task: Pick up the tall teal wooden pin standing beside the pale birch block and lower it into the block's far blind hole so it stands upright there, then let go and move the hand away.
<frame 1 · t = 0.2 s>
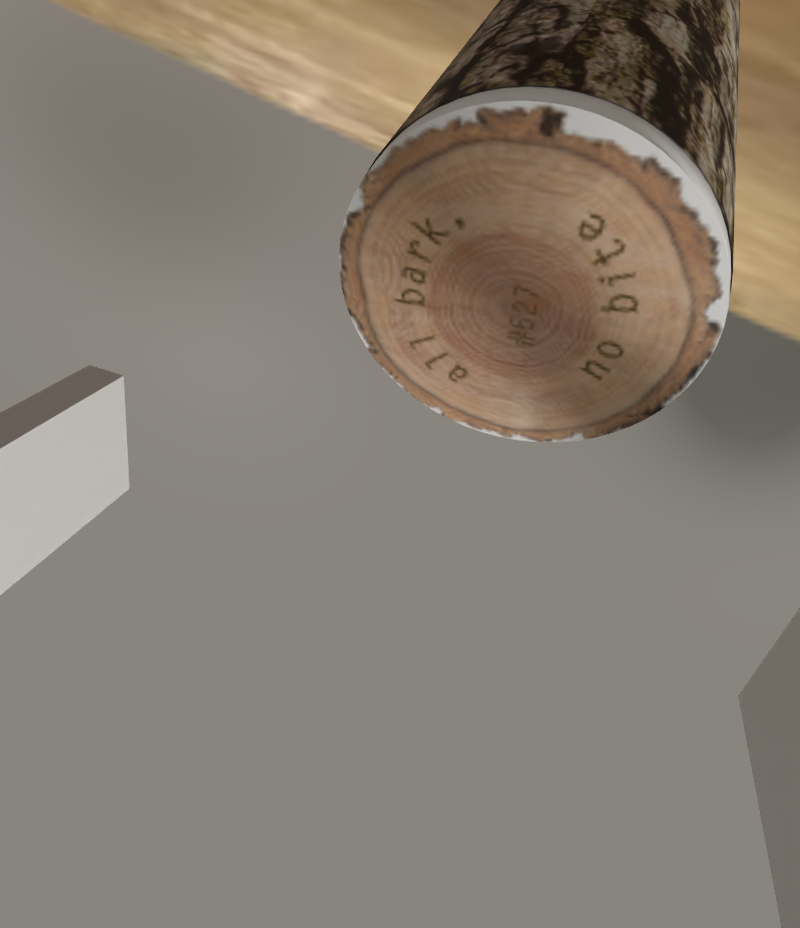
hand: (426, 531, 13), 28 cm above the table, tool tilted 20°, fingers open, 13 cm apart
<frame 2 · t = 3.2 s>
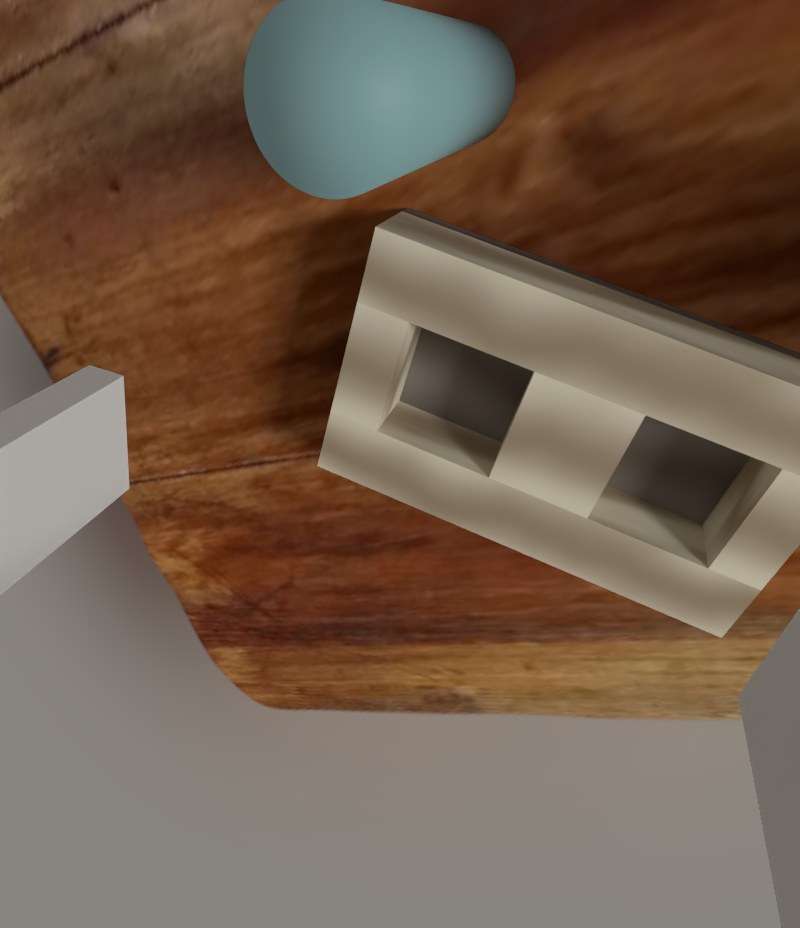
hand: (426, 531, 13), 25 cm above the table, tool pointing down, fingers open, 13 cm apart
hole block: (571, 406, 37), on the table
pin: (461, 86, 31), on the table
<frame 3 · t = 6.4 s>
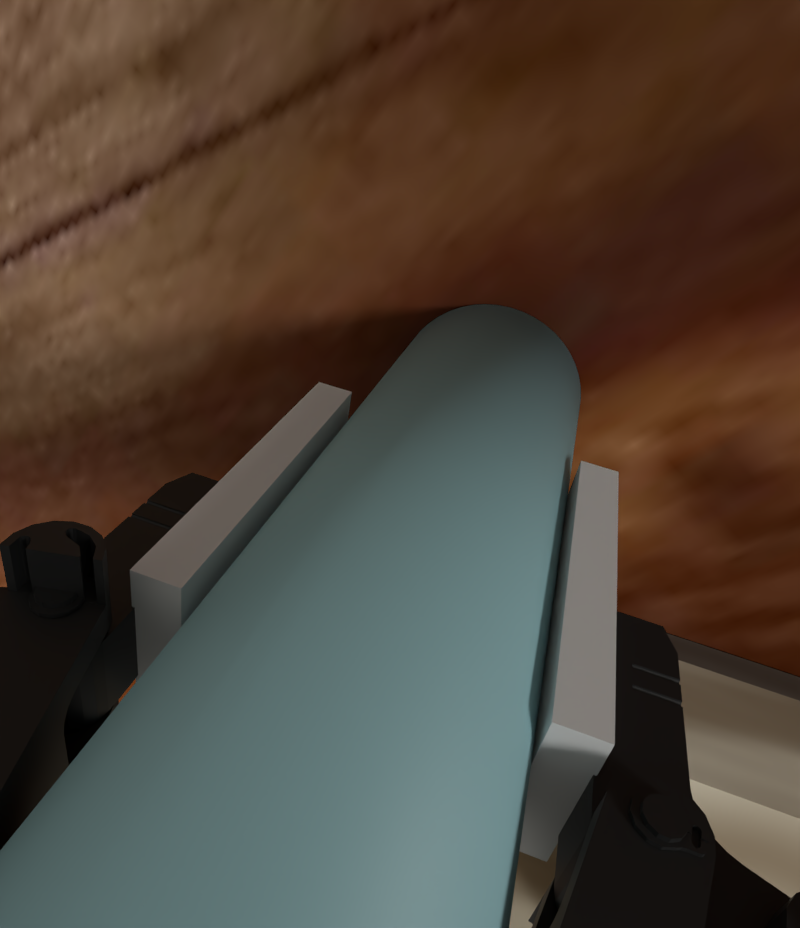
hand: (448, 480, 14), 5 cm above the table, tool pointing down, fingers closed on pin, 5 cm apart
hole block: (693, 803, 24), on the table
pin: (486, 394, 18), on the table, touching gripper
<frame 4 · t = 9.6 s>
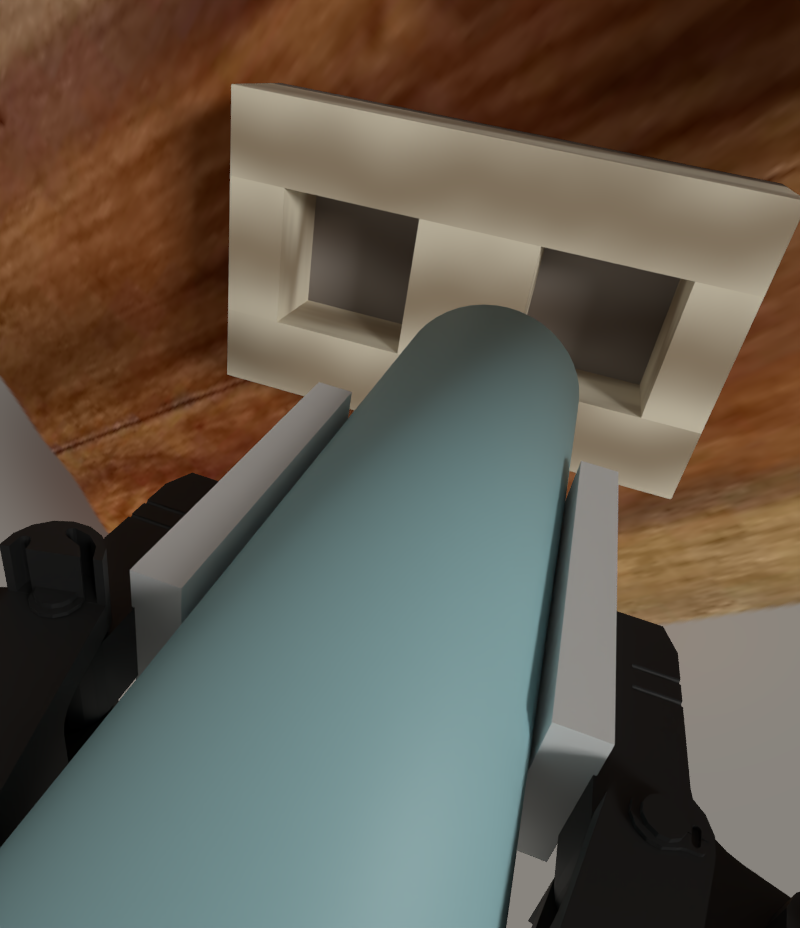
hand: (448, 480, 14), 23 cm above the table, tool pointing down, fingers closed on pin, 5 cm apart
hole block: (483, 276, 35), on the table
pin: (485, 394, 18), point 18 cm above the table, touching gripper
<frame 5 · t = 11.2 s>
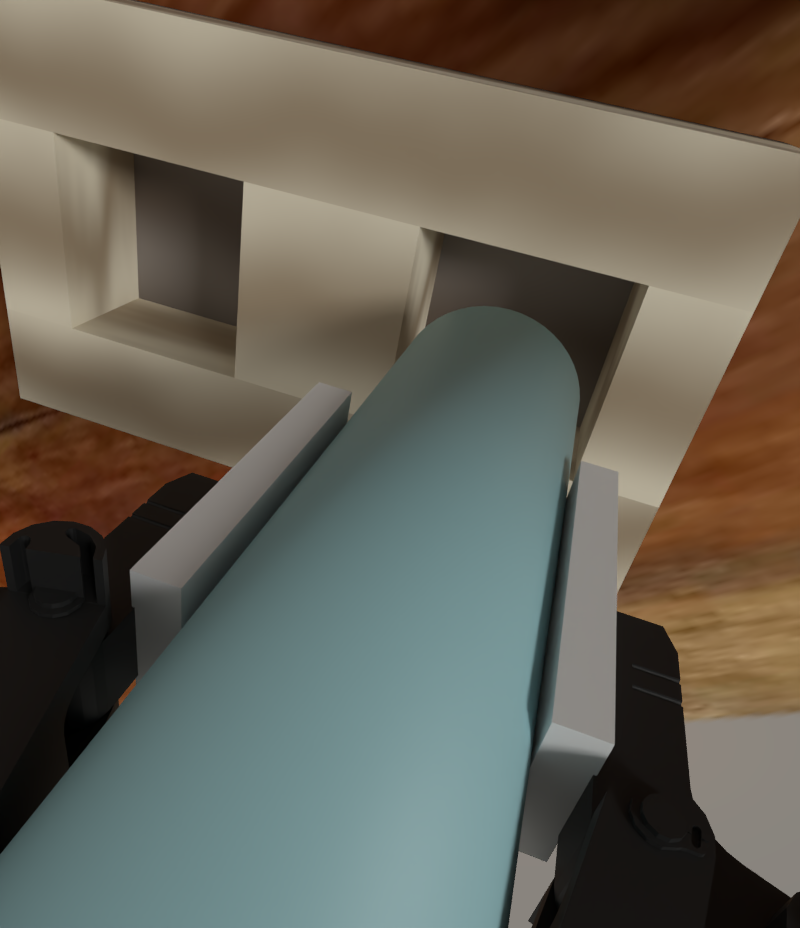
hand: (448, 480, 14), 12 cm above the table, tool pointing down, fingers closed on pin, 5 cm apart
hole block: (368, 271, 25), on the table
pin: (485, 395, 18), point 7 cm above the table, touching gripper
when the fingers open (7 cm above the table, at t = 12.7 s): pin stays where it is, resting on hole block.
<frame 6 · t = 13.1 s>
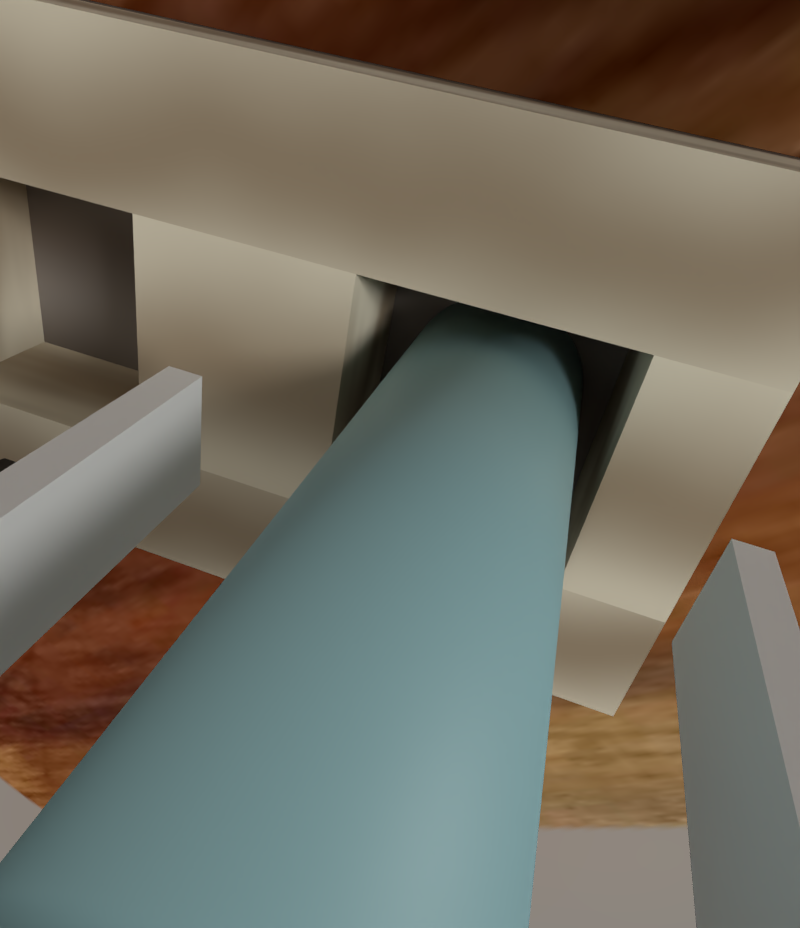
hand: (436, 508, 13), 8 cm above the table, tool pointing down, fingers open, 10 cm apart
hole block: (312, 314, 21), on the table
pin: (492, 382, 19), point 1 cm above the table, touching hole block
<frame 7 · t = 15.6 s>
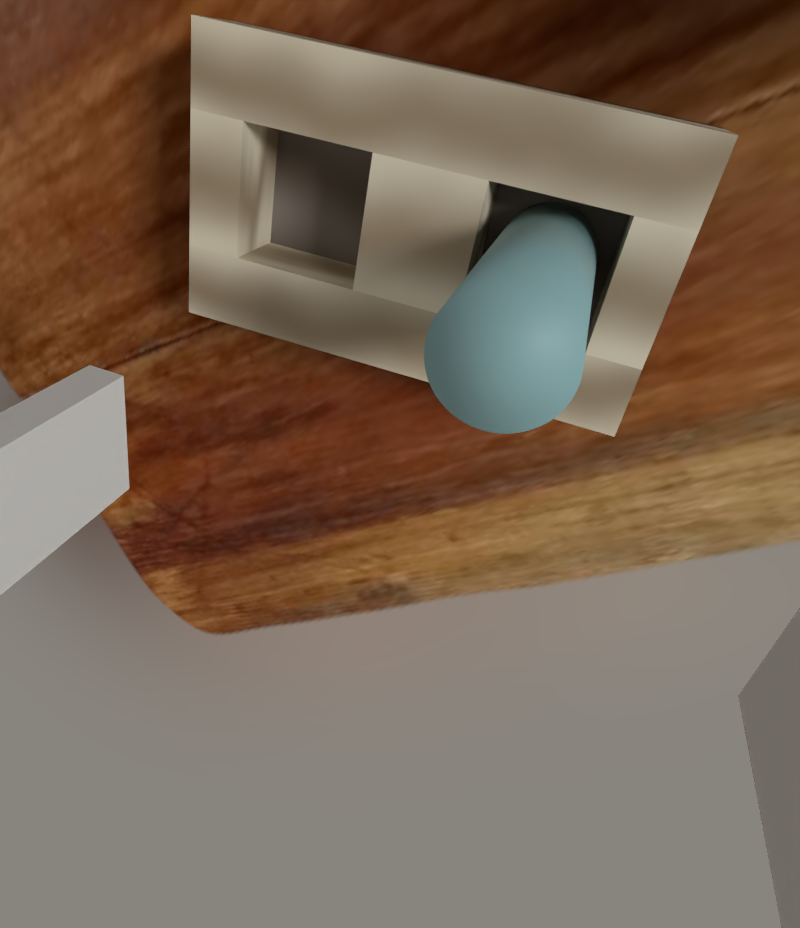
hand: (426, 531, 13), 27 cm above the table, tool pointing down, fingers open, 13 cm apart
hole block: (440, 220, 36), on the table
pin: (547, 253, 34), point 1 cm above the table, touching hole block
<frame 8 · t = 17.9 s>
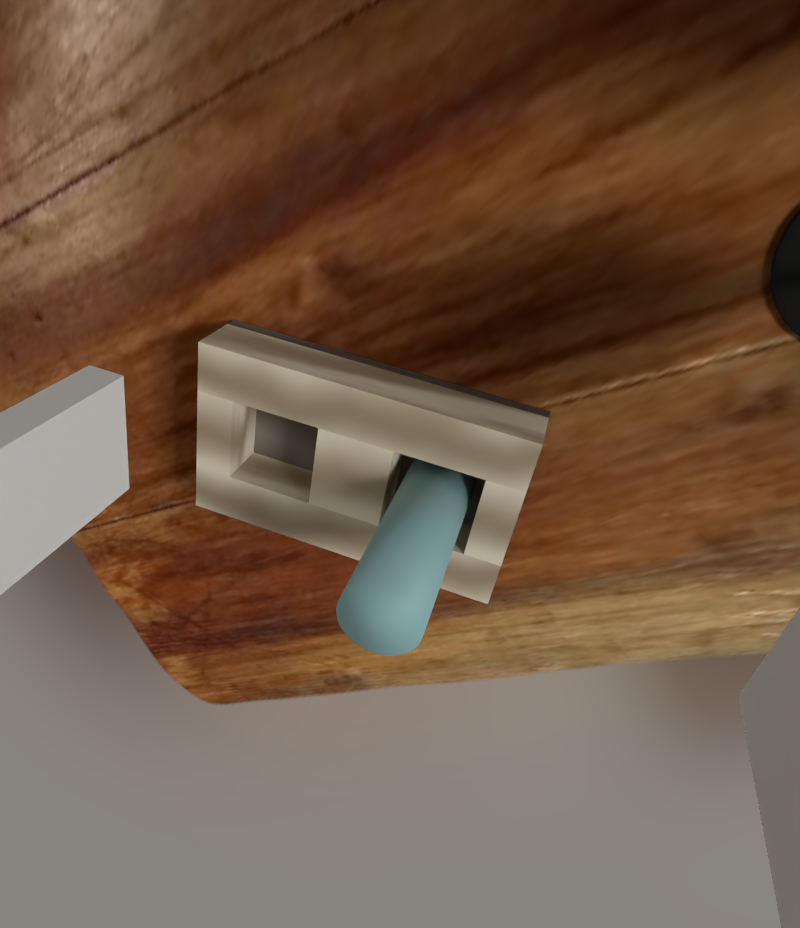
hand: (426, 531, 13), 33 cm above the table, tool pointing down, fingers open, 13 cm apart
hole block: (371, 446, 51), on the table
pin: (442, 476, 50), point 1 cm above the table, touching hole block
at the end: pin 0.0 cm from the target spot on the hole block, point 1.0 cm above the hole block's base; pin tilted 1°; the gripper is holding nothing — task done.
